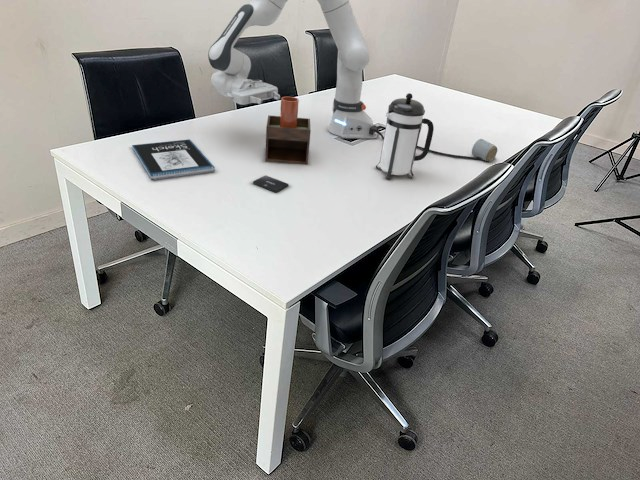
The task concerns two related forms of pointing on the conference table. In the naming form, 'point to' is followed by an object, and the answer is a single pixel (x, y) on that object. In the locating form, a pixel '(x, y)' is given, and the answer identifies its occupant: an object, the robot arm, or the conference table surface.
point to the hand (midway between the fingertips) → (270, 99)
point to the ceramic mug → (484, 150)
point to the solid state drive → (270, 183)
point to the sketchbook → (172, 159)
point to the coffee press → (403, 136)
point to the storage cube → (287, 141)
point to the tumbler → (289, 112)
